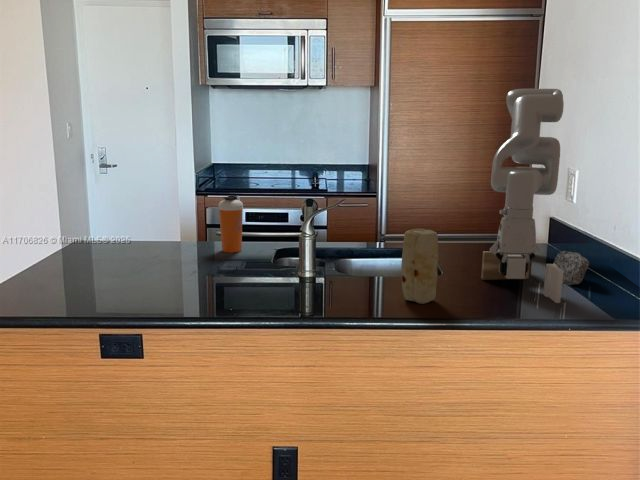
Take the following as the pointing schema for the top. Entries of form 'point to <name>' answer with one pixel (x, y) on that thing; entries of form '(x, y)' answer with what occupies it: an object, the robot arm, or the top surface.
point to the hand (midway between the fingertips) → (513, 274)
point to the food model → (419, 265)
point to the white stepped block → (515, 267)
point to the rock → (571, 266)
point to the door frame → (553, 282)
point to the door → (496, 266)
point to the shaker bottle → (231, 223)
